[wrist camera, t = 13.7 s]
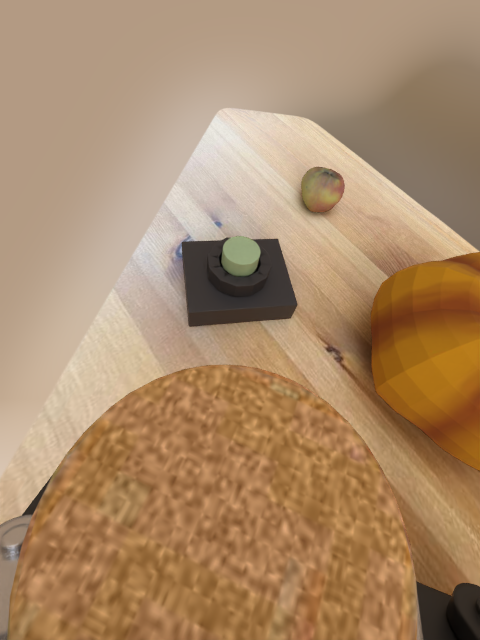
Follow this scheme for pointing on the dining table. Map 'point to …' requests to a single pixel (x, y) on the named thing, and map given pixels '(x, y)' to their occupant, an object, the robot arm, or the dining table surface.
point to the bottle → (216, 522)
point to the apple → (322, 189)
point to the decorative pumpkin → (432, 351)
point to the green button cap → (240, 256)
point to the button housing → (235, 285)
